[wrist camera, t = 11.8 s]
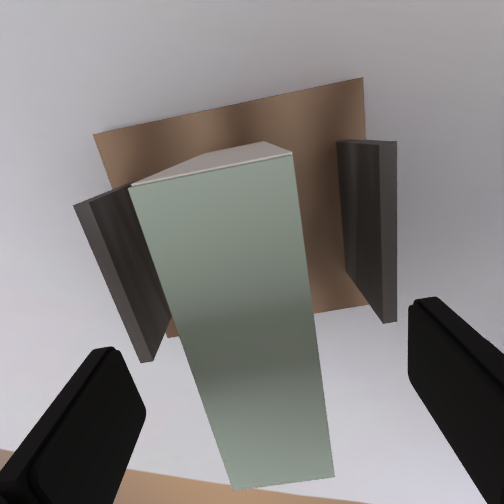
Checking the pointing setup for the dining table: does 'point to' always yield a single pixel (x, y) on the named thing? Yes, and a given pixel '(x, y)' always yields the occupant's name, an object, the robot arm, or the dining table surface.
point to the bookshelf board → (308, 188)
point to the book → (243, 307)
